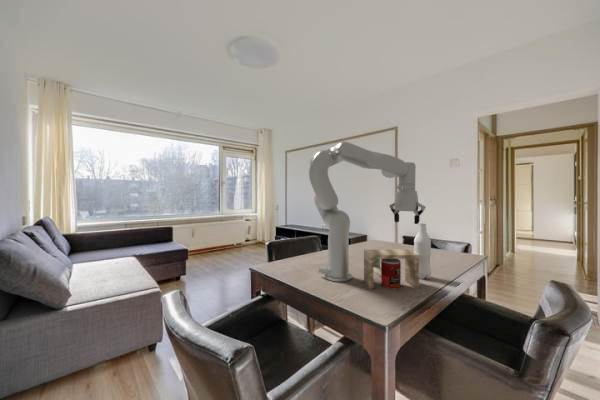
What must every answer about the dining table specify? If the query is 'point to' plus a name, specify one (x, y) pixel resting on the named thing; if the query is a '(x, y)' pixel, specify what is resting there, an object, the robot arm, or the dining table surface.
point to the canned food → (391, 273)
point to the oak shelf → (408, 255)
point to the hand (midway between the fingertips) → (406, 222)
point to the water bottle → (423, 251)
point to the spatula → (377, 266)
